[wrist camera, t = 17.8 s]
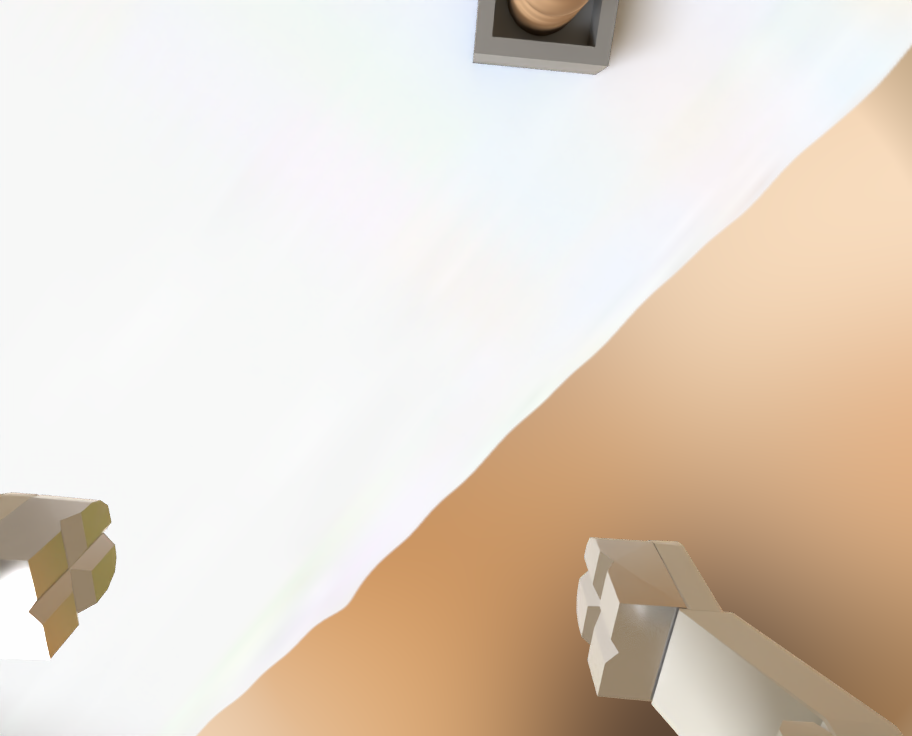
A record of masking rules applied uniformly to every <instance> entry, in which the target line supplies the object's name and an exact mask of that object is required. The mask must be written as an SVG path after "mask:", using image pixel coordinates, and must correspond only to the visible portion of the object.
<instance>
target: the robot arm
mask: <svg viewBox="0 0 912 736" xmlns="http://www.w3.org/2000/svg"><path fill="white" fill-rule="evenodd" d="M110 523H111V518H110V513H109V508H108V505H107V504H105V503H104V502H102V501H101V500H92V499H82V498H71V497H61V496H51V495H37V494H27V493H14V492H11V493H5V494H0V658H16V659H43V660H50V659H51V658H52V657H53V655H54V654H55V653H56V652H57V650H58V649H59V648H60V647H61V646H62V644H63V643H64V642H65V641H66V640H67V638H68V637H69V636H70V635H71V634H72V632H73V631H74V630H75V629H76V628H77V626H78V625H79V621H78V613H79V612H81V611H83V610H85V609H87V608H88V607H90V606H92V605H94V604H96V603H97V602H98V601H99V599H100V598H101V597H102V596H103V594H104V593H105V592H106V591H107V589H108V587H109V585H110V582H111V580H112V577H113V575H114V572H115V566H116V550H115V544H114V543H113V542H112V541H111V540H110V539H109V538H108V537H107V536H106V535H105V534H104V532H105V530H106V529H107V528H108V526H109V525H110ZM584 558H585V561H586V565H587V568H588V571H587V572H586V573H585V574H584V575H583V576H582V577H581V578H580V581H579V586H578V592H577V617H578V625H579V629H580V633H581V636H582V637H583V639H585V640H586V641H587V642H588V643H589V644H590V650H589V655H588V663H589V667H590V670H591V674H592V678H593V682H594V685H595V689H596V693H597V696H601V697H612V698H623V699H633V700H643V701H652V705H653V706H654V707H655V709H656V710H657V711H658V712H659V713H660V714H661V716H662V717H663V718H664V719H665V720H666V721H667V723H668V724H670V726H671V727H672V728H673V729H674V731H675V732H676V733H677V734H678V735H679V736H903V735H902V733H901V732H900V731H899V729H898V728H897V727H896V726H895V725H894V724H892V723H891V722H890V721H888V720H886V719H885V718H884V717H882V716H881V715H879V714H878V713H877V712H875V711H874V710H872V709H871V708H869V707H868V706H866V705H865V704H864V703H862V702H861V701H859V700H858V699H856V698H855V697H853V696H852V695H850V694H849V693H848V692H846V691H845V690H843V689H842V688H840V687H839V686H838V685H836V684H834V683H833V682H832V681H830V680H829V679H828V678H826V677H825V676H823V675H822V674H820V673H819V672H817V671H816V670H814V669H813V668H812V667H810V666H809V665H807V664H806V663H805V662H803V661H802V660H800V659H799V658H797V657H796V656H794V655H793V654H792V653H790V652H789V651H787V650H786V649H784V648H783V647H781V646H780V645H779V644H777V643H776V642H774V641H773V640H771V639H770V638H768V637H767V636H766V635H764V634H763V633H761V632H760V631H758V630H757V629H756V628H754V627H753V626H751V625H750V624H748V623H747V622H745V621H744V620H743V619H741V618H740V617H738V616H737V615H735V614H734V613H732V612H723V611H722V609H721V607H720V606H719V604H718V603H717V601H716V599H715V598H714V596H713V594H712V593H711V591H710V589H709V588H708V586H707V584H706V583H705V581H704V579H703V578H702V576H701V574H700V573H699V571H698V569H697V568H696V566H695V564H694V563H693V561H692V560H691V558H690V556H689V555H688V553H687V551H686V550H685V548H684V546H683V545H682V544H680V543H678V542H675V541H652V540H649V541H636V540H621V539H607V538H592V537H590V539H589V541H588V543H587V546H586V551H585V555H584Z"/></svg>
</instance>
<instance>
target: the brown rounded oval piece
mask: <svg viewBox="0 0 912 736" xmlns="http://www.w3.org/2000/svg"><path fill="white" fill-rule="evenodd" d="M588 1H589V0H507V5H508V9H509V12H510V14H511V16H512V18H513V20H514V21H515V23H516V24H517V25H518V26H519V27H520V28H521V29H522V30H524V31H526V32H527V33H530V34H532V35H537V36H546V35H551V34H553V33H556V32H558V31H559V30H561V29H562V28H564V27H565V26H566V25H567V24H568V23H569V22H570V21H571V19H572V18H573V17H574V16H575V15H576V14H577V13H578V12H579V11H580V10H581V8H582V7H583V6H584V5H585V4H586V3H587V2H588Z"/></svg>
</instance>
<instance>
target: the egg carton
mask: <svg viewBox="0 0 912 736" xmlns="http://www.w3.org/2000/svg"><path fill="white" fill-rule="evenodd" d="M618 3H619V0H589V1H588V2H587V3H586V4H585V5H584V6H583V7H582V8H581V10H580V11H579V12H578V13H577V14H576V15H575V16H574V17H573V18H572V19H571V21H570V22H569V23H568V24H567V25H566V26H565V27H564V28H562V29H561V30H559V31H558V32H556V33H553V34H551V35H546V36H537V35H532V34H530V33H527V32H526V31H524V30H522V29H521V28H520V27H519V26H518V25H517V24H516V23H515V21H514V20H513V18H512V16H511V14H510V12H509V9H508V5H507V0H478V10H477V22H476V33H475V45H474V56H473V63H480V64H490V65H501V66H511V67H521V68H531V69H541V70H551V71H561V72H572V73H582V74H592V75H596V74H597V73H599V72H600V71H602V70H603V69H605V68H606V67H608V65H609V58H610V52H611V46H612V40H613V34H614V28H615V21H616V15H617V9H618Z"/></svg>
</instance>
